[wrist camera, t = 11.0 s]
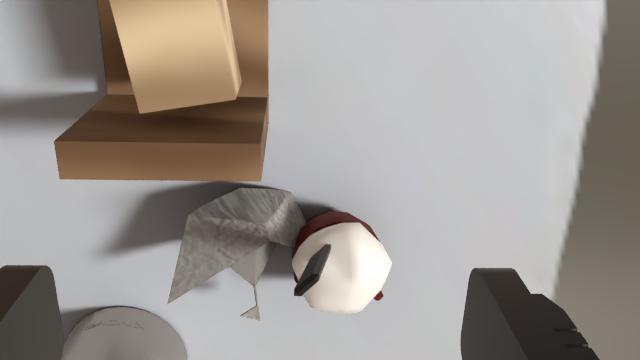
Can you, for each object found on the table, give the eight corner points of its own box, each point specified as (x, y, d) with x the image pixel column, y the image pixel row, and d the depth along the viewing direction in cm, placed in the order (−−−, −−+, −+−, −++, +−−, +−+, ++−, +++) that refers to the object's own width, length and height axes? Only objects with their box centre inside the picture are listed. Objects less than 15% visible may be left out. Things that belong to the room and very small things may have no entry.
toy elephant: (341, 173, 40) (357, 305, 41) (292, 171, 45) (308, 287, 46) (168, 210, 33) (193, 364, 34) (135, 202, 39) (158, 336, 40)
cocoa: (385, 268, 44) (447, 374, 33) (308, 301, 44) (345, 419, 33) (344, 159, 41) (400, 239, 30) (260, 195, 40) (284, 289, 29)
